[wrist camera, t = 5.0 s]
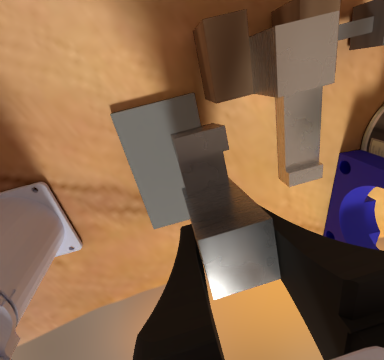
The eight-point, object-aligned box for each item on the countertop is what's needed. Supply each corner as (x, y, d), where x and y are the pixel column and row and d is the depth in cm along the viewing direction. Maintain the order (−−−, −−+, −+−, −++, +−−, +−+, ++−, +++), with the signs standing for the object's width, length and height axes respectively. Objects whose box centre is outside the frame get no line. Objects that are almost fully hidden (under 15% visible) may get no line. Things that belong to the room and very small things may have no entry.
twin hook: (247, 187, 23) (282, 227, 17) (231, 44, 17) (275, 26, 11) (309, 170, 24) (366, 203, 17) (313, 24, 18) (401, -5, 11)
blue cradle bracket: (353, 233, 29) (399, 268, 24) (322, 239, 28) (361, 277, 23) (377, 146, 24) (443, 166, 18) (339, 153, 23) (396, 175, 18)
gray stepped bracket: (192, 228, 17) (213, 300, 11) (166, 135, 15) (173, 153, 8) (234, 215, 17) (280, 278, 11) (215, 122, 15) (260, 129, 8)
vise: (205, 99, 19) (216, 103, 15) (193, 30, 16) (202, 19, 13) (353, 61, 19) (393, 57, 16) (361, -10, 17) (409, -30, 14)
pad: (153, 225, 23) (154, 229, 23) (111, 113, 18) (110, 114, 17) (216, 208, 24) (218, 211, 23) (193, 92, 18) (194, 93, 18)
